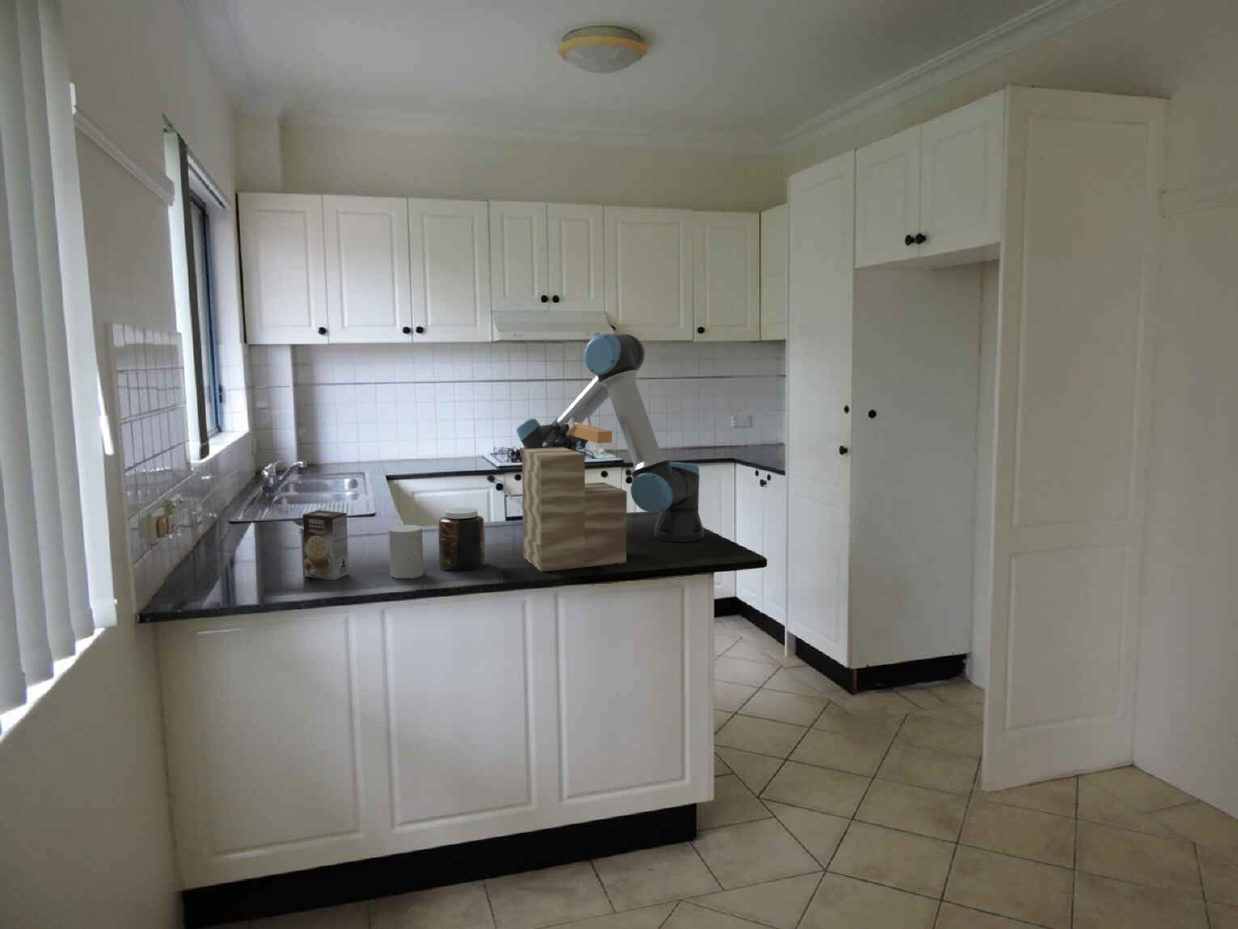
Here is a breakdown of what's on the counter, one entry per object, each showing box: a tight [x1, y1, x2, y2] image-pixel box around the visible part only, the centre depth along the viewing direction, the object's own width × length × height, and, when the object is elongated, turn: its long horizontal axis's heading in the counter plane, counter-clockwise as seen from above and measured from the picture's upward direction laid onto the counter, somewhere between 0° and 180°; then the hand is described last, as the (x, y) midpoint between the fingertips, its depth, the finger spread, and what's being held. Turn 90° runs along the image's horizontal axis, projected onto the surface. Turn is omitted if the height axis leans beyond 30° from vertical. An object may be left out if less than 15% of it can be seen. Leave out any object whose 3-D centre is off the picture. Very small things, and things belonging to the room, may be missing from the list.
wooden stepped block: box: [520, 447, 628, 572], centre depth 229 cm, size 17×24×30 cm
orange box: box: [564, 422, 613, 444], centre depth 233 cm, size 26×4×3 cm, turn 24°
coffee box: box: [302, 509, 349, 581], centre depth 213 cm, size 9×6×16 cm
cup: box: [388, 524, 424, 579], centre depth 214 cm, size 8×8×12 cm
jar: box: [437, 507, 486, 572], centre depth 223 cm, size 12×12×15 cm
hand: (581, 421), depth 237 cm, fingers closed on orange box, 4 cm apart
